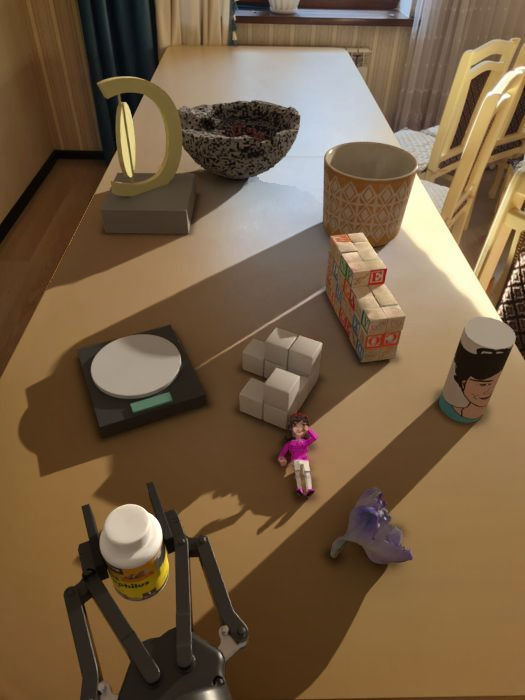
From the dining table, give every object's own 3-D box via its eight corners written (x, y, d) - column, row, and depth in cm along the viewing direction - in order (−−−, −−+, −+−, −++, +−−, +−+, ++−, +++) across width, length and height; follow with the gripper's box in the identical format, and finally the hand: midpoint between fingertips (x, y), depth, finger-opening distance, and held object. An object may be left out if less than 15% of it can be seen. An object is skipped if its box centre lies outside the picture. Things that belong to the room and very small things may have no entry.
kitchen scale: (102, 438, 78) (98, 423, 76) (79, 359, 90) (75, 345, 88) (206, 404, 83) (205, 390, 81) (172, 334, 95) (170, 320, 93)
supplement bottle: (104, 597, 52) (82, 545, 45) (127, 544, 56) (110, 489, 49) (158, 611, 51) (144, 560, 45) (178, 556, 55) (168, 502, 49)
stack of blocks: (396, 359, 91) (410, 300, 83) (360, 364, 90) (371, 305, 82) (354, 286, 107) (362, 231, 98) (324, 289, 106) (330, 234, 97)
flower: (339, 571, 57) (405, 504, 58) (303, 526, 65) (362, 467, 66) (380, 612, 61) (441, 549, 63) (342, 565, 69) (396, 509, 70)
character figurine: (323, 499, 72) (312, 423, 80) (326, 481, 68) (314, 403, 76) (281, 502, 72) (273, 425, 80) (282, 484, 68) (273, 406, 76)
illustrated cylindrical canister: (453, 426, 81) (482, 352, 70) (431, 394, 85) (455, 321, 75) (492, 417, 82) (526, 344, 72) (468, 386, 87) (497, 313, 77)
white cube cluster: (253, 355, 92) (253, 318, 86) (318, 379, 88) (322, 342, 82) (216, 401, 84) (214, 364, 78) (286, 430, 80) (288, 393, 74)
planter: (402, 213, 129) (416, 145, 118) (403, 257, 115) (420, 184, 103) (321, 206, 131) (328, 138, 120) (313, 247, 117) (319, 175, 106)
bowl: (320, 172, 145) (325, 114, 135) (237, 212, 128) (235, 150, 118) (238, 139, 161) (237, 86, 151) (154, 171, 144) (147, 113, 134)
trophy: (121, 194, 134) (97, 61, 114) (196, 195, 134) (186, 63, 114) (105, 232, 121) (75, 90, 100) (188, 233, 121) (175, 91, 100)
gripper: (74, 848, 37) (32, 555, 53) (310, 719, 43) (210, 489, 59) (47, 834, 32) (9, 514, 48) (319, 690, 38) (207, 447, 54)
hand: (120, 501), depth 53 cm, fingers closed on supplement bottle, 6 cm apart
